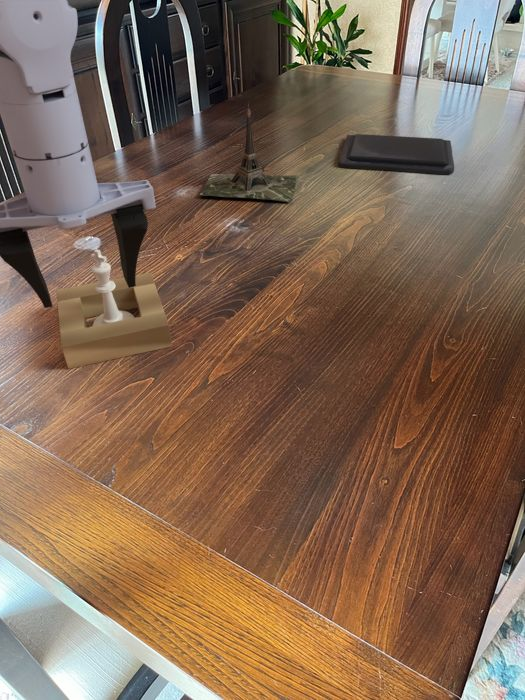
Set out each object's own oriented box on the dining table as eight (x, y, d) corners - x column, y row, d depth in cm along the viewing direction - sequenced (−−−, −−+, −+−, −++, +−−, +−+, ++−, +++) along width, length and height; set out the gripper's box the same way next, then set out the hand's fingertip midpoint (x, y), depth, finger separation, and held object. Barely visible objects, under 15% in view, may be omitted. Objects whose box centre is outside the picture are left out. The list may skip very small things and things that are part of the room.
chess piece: (110, 311, 65) (92, 235, 59) (145, 320, 64) (130, 244, 57) (83, 335, 62) (61, 257, 56) (120, 346, 60) (101, 267, 54)
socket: (62, 310, 66) (56, 289, 64) (154, 292, 68) (150, 272, 66) (68, 369, 58) (61, 347, 56) (172, 346, 60) (168, 324, 58)
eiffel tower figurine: (197, 199, 88) (189, 112, 80) (211, 174, 96) (205, 92, 87) (291, 204, 87) (292, 115, 78) (297, 177, 94) (299, 94, 86)
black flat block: (336, 156, 96) (347, 127, 107) (335, 167, 97) (346, 137, 109) (455, 165, 92) (454, 134, 104) (453, 176, 94) (452, 144, 105)
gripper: (-50, 183, 38) (11, 336, 47) (154, 148, 42) (176, 294, 51) (-51, 149, 43) (5, 293, 52) (133, 120, 47) (156, 258, 56)
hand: (89, 291), depth 52 cm, fingers open, 7 cm apart
